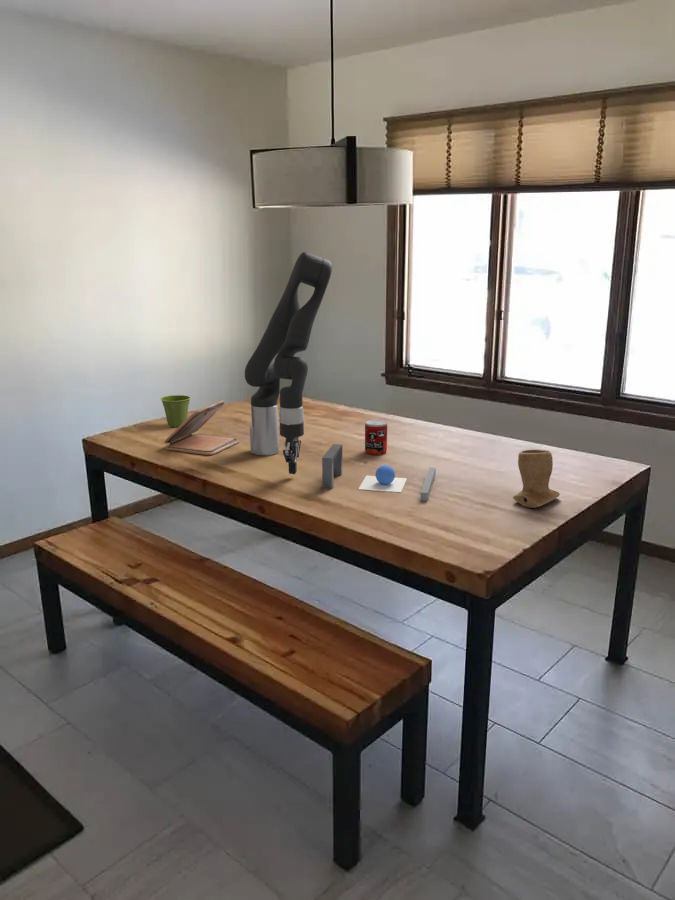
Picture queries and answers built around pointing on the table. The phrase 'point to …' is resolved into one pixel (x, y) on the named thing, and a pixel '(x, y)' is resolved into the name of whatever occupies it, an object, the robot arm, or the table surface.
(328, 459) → the bridge
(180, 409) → the plant pot
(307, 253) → the robot arm
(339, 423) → the table surface
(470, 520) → the table surface
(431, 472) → the wall
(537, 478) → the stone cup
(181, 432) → the case
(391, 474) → the ball
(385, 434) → the canned food
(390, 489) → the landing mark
